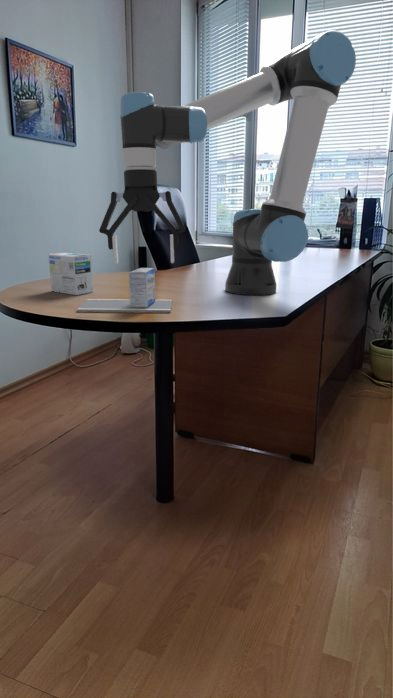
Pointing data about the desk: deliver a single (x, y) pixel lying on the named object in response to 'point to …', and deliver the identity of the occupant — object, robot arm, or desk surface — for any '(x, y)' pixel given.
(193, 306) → the desk surface
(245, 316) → the desk surface
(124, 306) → the mat
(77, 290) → the light bulb box
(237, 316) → the desk surface
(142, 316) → the desk surface
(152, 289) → the medicine box
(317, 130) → the robot arm
